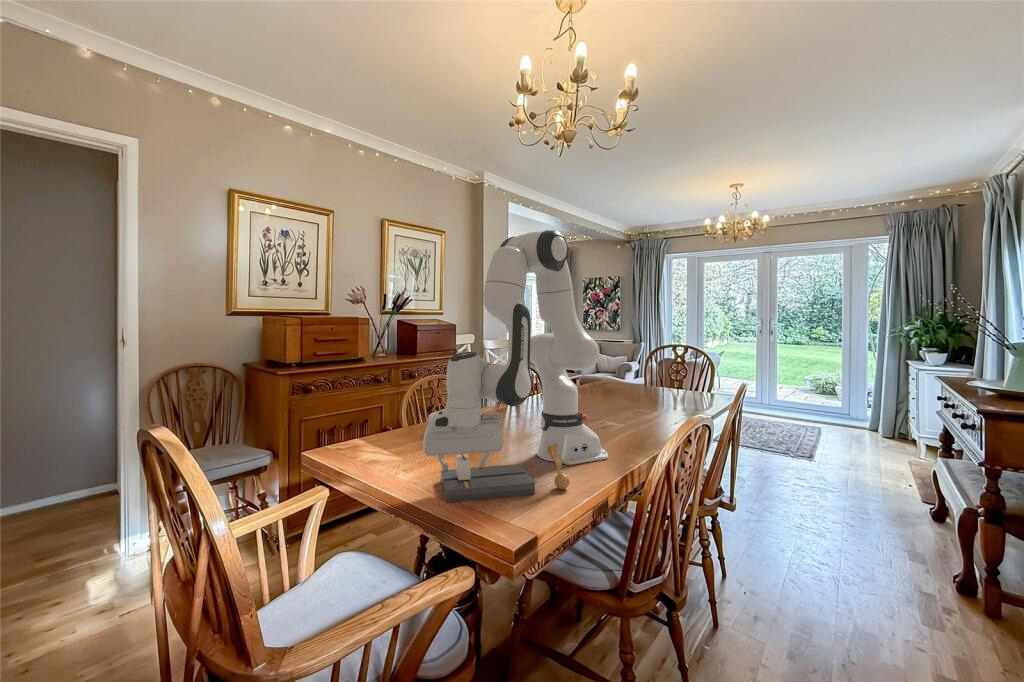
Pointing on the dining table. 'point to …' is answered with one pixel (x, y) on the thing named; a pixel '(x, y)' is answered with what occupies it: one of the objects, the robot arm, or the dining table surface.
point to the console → (487, 483)
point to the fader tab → (463, 467)
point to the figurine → (560, 479)
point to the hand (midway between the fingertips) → (463, 469)
